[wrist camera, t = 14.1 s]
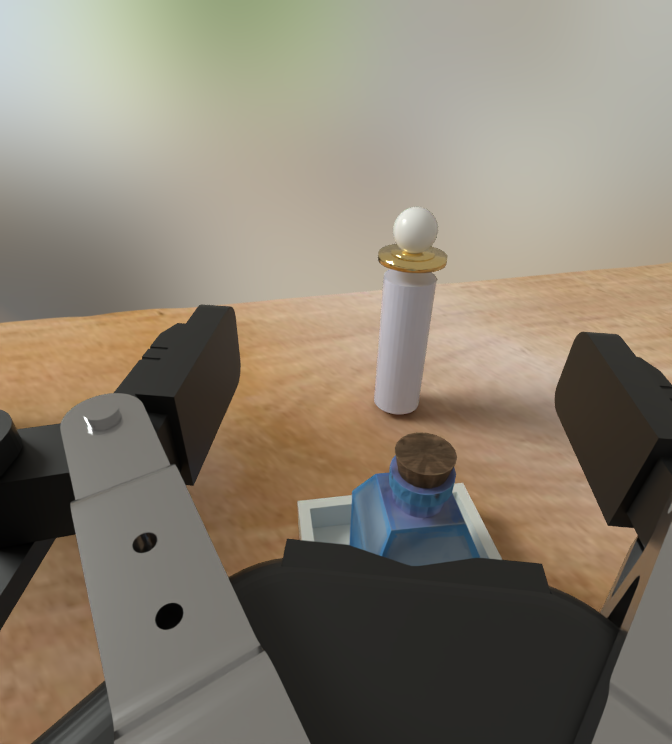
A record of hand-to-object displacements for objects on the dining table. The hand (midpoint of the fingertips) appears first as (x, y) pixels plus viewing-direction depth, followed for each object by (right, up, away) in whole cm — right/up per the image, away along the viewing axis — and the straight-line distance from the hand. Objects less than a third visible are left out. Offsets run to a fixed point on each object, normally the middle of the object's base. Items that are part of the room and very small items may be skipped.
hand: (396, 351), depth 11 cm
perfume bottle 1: (+5, -4, +37) cm, 38 cm away
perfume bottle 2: (+3, -15, +20) cm, 25 cm away
